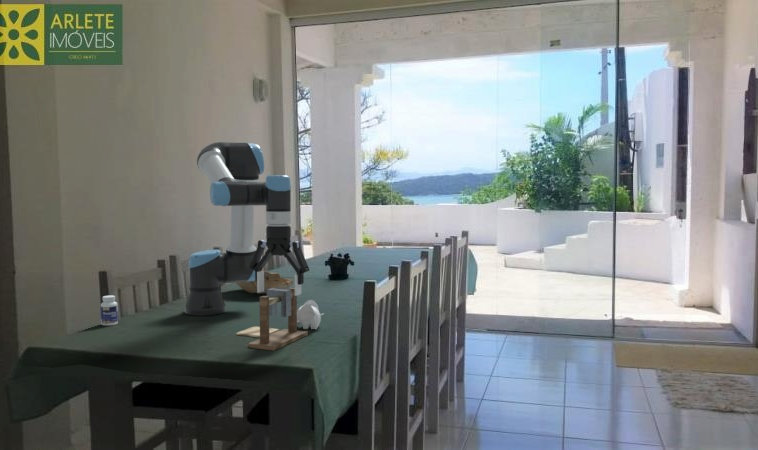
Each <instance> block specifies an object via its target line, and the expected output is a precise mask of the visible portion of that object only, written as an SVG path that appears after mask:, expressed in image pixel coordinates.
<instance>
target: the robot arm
mask: <svg viewBox="0 0 758 450" xmlns="http://www.w3.org/2000/svg"><path fill="white" fill-rule="evenodd" d="M196 164H197V169H198V170H199V172H201V174H203V175H204V176H206V178H207V180H208V182H209V183H210V187H209V197H210V203H211V204H212V206H221V207H230V234H229V235H230V238H229V240H230V241H229V242H230V244H229V245H227V246H226V247H225V252H223V253H222V251H221V250H220V249H206V250H201V251H197V252H194V253H191V255H189V258H188V266H187V267H188V279H189V280H188V288H189V291H188V296H187V299H186V303H185V305H184V313H185V314H186V315H189V316H196V317H197V316H199V317H201V316H202V317H203V316H213V315H214V316H215V315H219V314H223V313H225V312H226V311H227V306H226V303H225V299H224V296H223V294H222V284H234V283H236V282H249V281H257V293H260V292H264V271H261V270H262V269H263V268H265V265H266V264H267V263H268V262H269V261H270V259H271V258H272V256H280V257H281V256H283V257H284V258H285V259H286V260H287V261H288V262H289V265H290V266H291V267H292V268H293V270H294V271H295V274H294V288H295V296H297V297H298V296H300V295H302V285H304V284H305V283H304V281H305V279H304V274H305V273H308V272H310V267H309V265H308V263H307V260H306V258H305V256H304V253H303V251H302V249H301V242H300V241H299V240H297V241H293V242H291V238H292V237H291V236H292V227H291V226H290V224H292V219H291V218H292V217H291V215H292V214H291V212H292V211H291V209H292V208H291V206H292V205H291V203H292V202H291V201H292V200H291V196H292V195H291V192H292V190H291V189H292V184H291V177H290V176H289V175H282V174H280V175H277V174H276V175H275V174H274V175H271V174H270V175H269V174H268V175H266V177H265V181H259V179H260V175H263V174H264V172H265V158H264V153H263V151H262V149H261V147H260V145H259V144H256V143H252V142H222V141H218V142H212V143H210V144H208V145H206V146H205V147H203V148H202V149H201V150H200V152H199V153H198V155H197V159H196ZM255 206H265V214H266V215H265V217H266V218H265V220H266V221H265V223H266V225H267V226H266V229H265V233H266V235H265V237H266V239H267V240H265V239H260V240H258V241H257V246H255V245H254V221H255V220H254V218H255V217H254V215H255V213H254V212H255ZM266 247H267V249H266ZM265 249H266V251H265ZM291 249H292V250H293V251H292V250H291ZM264 251H265V252H264ZM263 254H264V255H263ZM263 270H264V269H263ZM236 284H237V283H236Z"/></svg>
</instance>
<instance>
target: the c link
mask: <svg viewBox="0 0 758 450" xmlns="http://www.w3.org/2000/svg"><path fill="white" fill-rule="evenodd" d="M266 296H269V298H272V297H281V302H280V317H283V318H288V316H290V315H291V290H288V289H276V288H271V289H267V294H266ZM277 314H278V303H275V304H272V305H269V316H276V315H277Z"/></svg>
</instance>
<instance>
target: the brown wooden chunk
mask: <svg viewBox="0 0 758 450" xmlns="http://www.w3.org/2000/svg"><path fill="white" fill-rule="evenodd" d="M261 271H264V292H260V293H257V281H249V282H236V285H238V286H239V288H240V289H242V290H243V291H245V292H247V293H251V294H254V293H257V294H256V295H267V289H271V288H276V289H287V290H288V288H291V286H292V285H293V284H294V280H293V279H292V278H291V279H290V278H284V277H281V275H280V273H278V272H277V273H276V272H269V271H267V270H265V269H262V270H261Z"/></svg>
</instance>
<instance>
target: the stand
mask: <svg viewBox="0 0 758 450" xmlns="http://www.w3.org/2000/svg"><path fill="white" fill-rule="evenodd" d="M287 290H291V315H290V316H288V317H287V324H288V327H287V328H283V329H281V330H280V329H279V331H277V332H275V333H273V334H270V335H269V328H270V315H269V305H272V304H275V303H277V304H279V303H281V297H272V298H269V296H267V295H262V296H261V295H260V296H259V327H260V338H258V339H256V340H253V341H251V342H248V343H247V347H248V348H251V349H258V350H259V349H260V350H266V351H273V352H274V351H276V350H279V349H280V348H283V347H285V346H287V345H289V344H292V343H294V342H296V341H298V340H300V339H302V338H303V339H304V338H305V337H308V335H309V334H308V333H309V331H308V330H307V331H306V330H298V325H297V311H298V307H297V304H298V301H297V299H298V296H295V287H289V288H288V289H287Z"/></svg>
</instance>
